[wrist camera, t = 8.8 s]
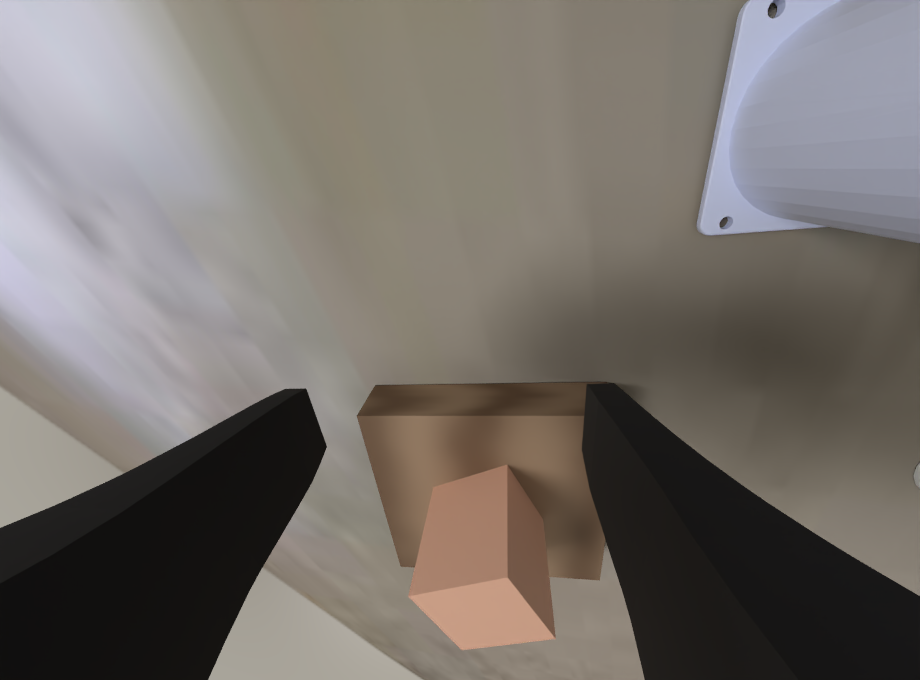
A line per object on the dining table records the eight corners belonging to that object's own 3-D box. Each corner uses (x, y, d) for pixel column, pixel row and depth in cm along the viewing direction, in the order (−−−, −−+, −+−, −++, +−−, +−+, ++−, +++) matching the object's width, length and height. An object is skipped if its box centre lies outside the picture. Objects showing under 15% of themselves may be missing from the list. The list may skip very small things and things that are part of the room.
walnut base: (606, 382, 20) (622, 415, 17) (589, 537, 26) (599, 580, 23) (375, 385, 22) (356, 415, 19) (410, 528, 28) (400, 566, 25)
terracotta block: (507, 464, 19) (507, 577, 14) (543, 519, 21) (555, 639, 16) (433, 487, 21) (408, 596, 16) (472, 536, 23) (461, 650, 17)
